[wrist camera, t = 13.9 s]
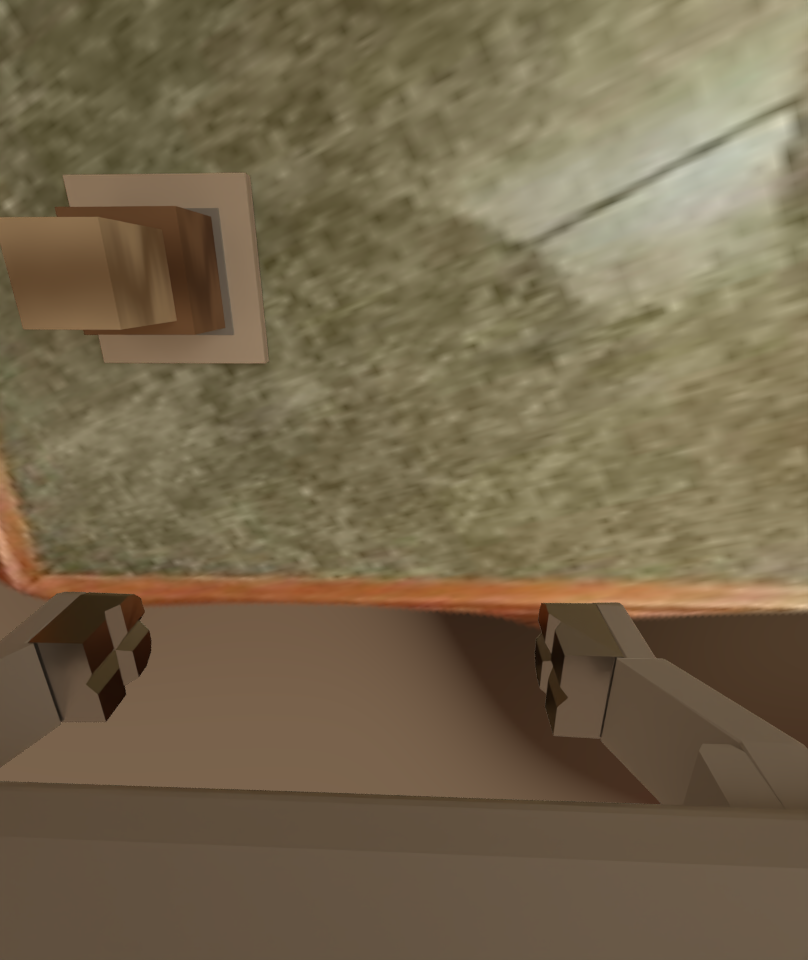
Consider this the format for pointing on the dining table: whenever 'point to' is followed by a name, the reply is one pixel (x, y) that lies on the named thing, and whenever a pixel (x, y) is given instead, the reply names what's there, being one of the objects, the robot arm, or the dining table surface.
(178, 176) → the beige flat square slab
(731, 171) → the dining table surface
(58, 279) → the maple block
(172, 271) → the walnut block
